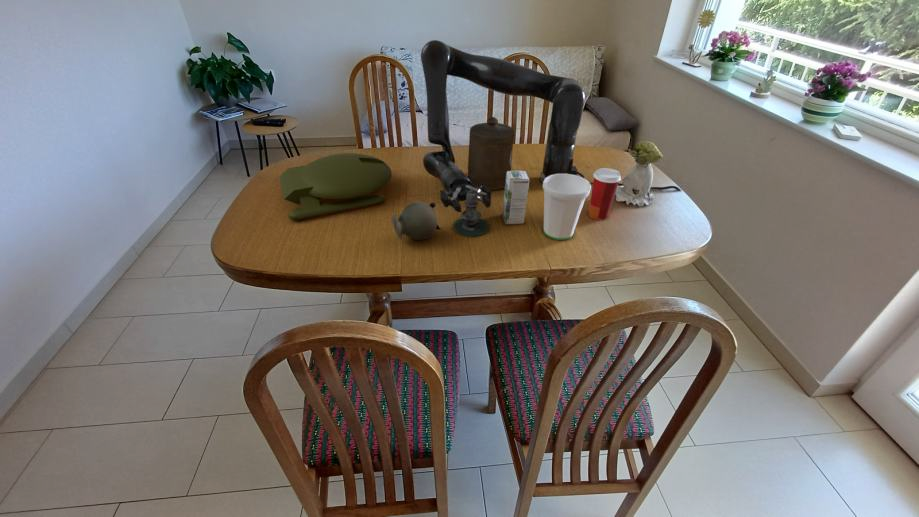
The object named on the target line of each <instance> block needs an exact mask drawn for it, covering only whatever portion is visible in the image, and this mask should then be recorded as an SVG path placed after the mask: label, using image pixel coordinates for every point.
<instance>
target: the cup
mask: <svg viewBox="0 0 919 517" xmlns="http://www.w3.org/2000/svg"><path fill="white" fill-rule="evenodd" d="M590 183H591V182H590V181H589V180H587V179H586V178H585V179H584V178H582V177H581V176H580V175H577V176H576V175H572V174H554V175H550V176H548V177H546V178H545V179H544V181H543V183H542V190H543V192H544V193H543V194H544V195H543V197H544V198H543V233H544V235H546V237H548V238H550V239H552V240H556V241H566V240H570V239H572V237H573V236H574V232H575V230H576V227H577V225H578V221H579V218H580V215H581V212H582V209H583V207H584V203H585V201H586V199H587V197H588V196H589V195H590V192H591V190H592V184H590Z"/></svg>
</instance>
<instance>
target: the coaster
mask: <svg viewBox="0 0 919 517" xmlns="http://www.w3.org/2000/svg"><path fill="white" fill-rule="evenodd" d="M462 223H463V220H462V218H460V219H458V220H456V221H455V222H454V225H453V228H454V231H455V232H456V233H457V234H459V235H461V236H464V237H470V238H471V237H472V238H473V237H474V238H475V237H480V236H483V235H485V234H486V233H487V232H488V231H489V224H488V222H487V221H485V220H484V219H482V218H480V220H479V222H478V223H479V224H480V227H479V228H478V229H477V230H473V231H469V230H465V229H463V228H462Z"/></svg>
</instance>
